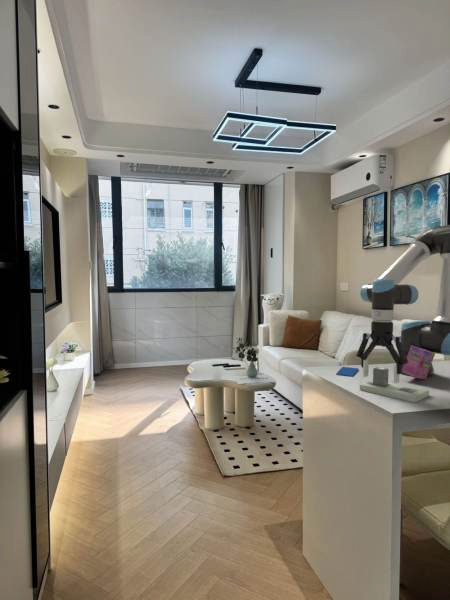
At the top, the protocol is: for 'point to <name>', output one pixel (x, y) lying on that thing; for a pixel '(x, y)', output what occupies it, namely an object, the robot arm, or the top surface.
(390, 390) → the outlet plate
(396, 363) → the robot arm
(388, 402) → the top surface
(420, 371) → the box
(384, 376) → the block
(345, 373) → the smartphone
